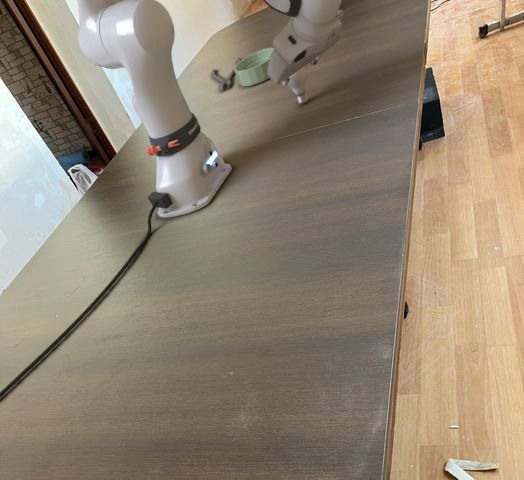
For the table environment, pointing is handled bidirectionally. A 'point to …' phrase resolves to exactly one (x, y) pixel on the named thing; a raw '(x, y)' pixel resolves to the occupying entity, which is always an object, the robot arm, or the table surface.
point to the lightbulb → (299, 84)
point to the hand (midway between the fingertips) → (298, 72)
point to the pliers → (227, 80)
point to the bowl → (253, 68)
